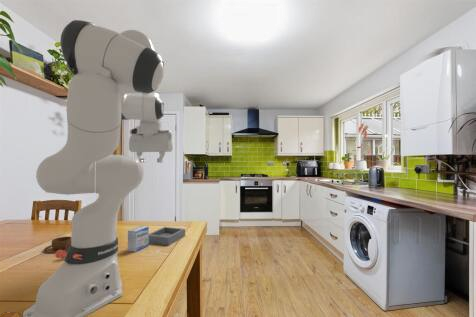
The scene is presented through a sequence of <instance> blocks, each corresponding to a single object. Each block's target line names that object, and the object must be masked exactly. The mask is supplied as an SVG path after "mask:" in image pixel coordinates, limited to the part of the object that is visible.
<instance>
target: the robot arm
mask: <svg viewBox="0 0 476 317" xmlns="http://www.w3.org/2000/svg"><path fill="white" fill-rule="evenodd" d="M60 48H61V49H60V50H61V53H62V55H63V58H64V60H65V62H66V65H67V68H68V70H69V71H70V72H71V73H72V74H73V76H72V77H71V79H70V81H69V84H68V90H67V95H66V96H67V97H66V120H67V121H66V122H67V135H66V136H67V140H66V142H65V145H64V146H63V147H62V148H61V149H59V151H57V152H56V153H54V154H52V155H49V156H47V157H46V158H44V159H43V160H42V161H41V162H40V163H39V165H38V166H37V169H36V181H37V184H38V185H39V187H40V188H41V189H42V190H43V191H45V193H48V194H58V195H67V196H68V195H82V194H83V195H85V194H98V197H97V199H96V200H95V201H94V202H92V203H90V204H87V205H86V206H83V207H82V208H80V209H79V210H77V211H76V212H75V213H74V214H73V215H72V217H71V221H70V222H71V232H70V234H71V236H70V237H71V244H70V246H69V248H68V251H65V250H66V249H63V250H64V251H63V250H56V251H57V253H54V257H55V258H58V259H61V260H62V259H63V262H62V264H60V265H59V267H58V268H57V269H55V271H54V272H52V273H51V275H50V276H49V277H48V278H47V279H46V280H45V281H44V282H43V283H42V284H41V285H40V286H39V288H38V291H37V294H36V297H35V303H34V304H33V305H31V306H30V307H28V308H26V309H25V310H24V311H23V313H22V317H86V316H87V315H89V314H91V313H94V312H95V311H97V310H99V309H100V308H103V307H105V306H106V305H108V304H110V303H112V302H113V301H115V300H116V299H118V298H121V297H122V296H123V289H122V288H123V281H122V279H121V278H122V277H121V274H120V269H119V261H118V260H119V259H118V253H117V252H118V251H119V238H118V236H117V227H118V218H119V217H118V216H119V211H120V208H121V205H123V202H124V201H125V199H126V198H127V196H128V195H130V193H131V192H132V191H134V190H135V189H137V187H139V186H140V184H141V183H142V181H143V178H144V167H143V165H142V163H145V158H144V157H143V153H158V155H159V156H158V157H157V158H156V162H157V163H159V164H161V163H163V159H164V157H165V155H166V153H168V152H169V153H170V152H172V151H173V141H172V140H173V139H172V132H171V131H169V130H168V129H164V130H163V129H162V121H161V118H163V117H164V108H165V107H164V106H165V104H164V102H163V101H162V99H161V96H160V94H159V93H157V92H155V91H156V90H157V89H158V87H159V85H161V83H162V80H163V79H164V74H165V71H164V70H165V64H164V61H163V59H162V56H161V55H160V54H159V53H157V52H156V51H155V47H154V46H153V44H152V42H151V39H150V38H149V37H148V36H147V35H146V34H144V33H143V32H141V31H140V30H136V29H128V30H124V31H122V32H120V33H119V32H117V31H114V30H113V29H112V30H111V29H109V28H106V27H102V26H99V25H96V24H95V23H94V22H91V21H90V22H89V21H85V20H82V19H81V20H79V19H78V20H77V19H74V20H72V21H70V22H69V23H67V24H66V25H65V27H64V28H63V30H62V32H61V35H60ZM139 93H141V94H139ZM127 120H128V121H129V120H137V121H139V125H138V126H136V127H133V128H132V129H130V130H129V134H130V137H129V139H128V149H129V151H130V152H131V153H136V157H135V156H134V157H133V156H129V155H128V156H127V155H123V154H113V153H114V152H116V150H117V148H118V146H119V145H120V141H121V140H120V138H121V129H122V128H121V127H122V121H127Z"/></svg>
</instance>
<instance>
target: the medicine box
mask: <svg viewBox="0 0 476 317" xmlns="http://www.w3.org/2000/svg"><path fill="white" fill-rule="evenodd" d="M149 232H150V229H149V226H146V225H140V226H138V227H135V228H133V229H130V230H129V229H128V230H127V251H128V252H134V253H138V252H139V251H142V250H143V249H145V248H147V247H149V246H150V243H149V234H150V233H149Z"/></svg>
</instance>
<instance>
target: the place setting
mask: <svg viewBox="0 0 476 317" xmlns="http://www.w3.org/2000/svg"><path fill="white" fill-rule="evenodd" d="M70 244H71V236H61V237H57V238H54V239H52V240H51V245H48V246H46V247H45V248H44V249H43V252H44V254H55V253H57V251H58V250H63V251H64V250H65V251H68V248H69V246H70ZM51 248H52V249H53V250H54V251H51V250H50V251H49V249H51ZM55 250H56V251H55Z"/></svg>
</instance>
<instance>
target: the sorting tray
mask: <svg viewBox="0 0 476 317" xmlns="http://www.w3.org/2000/svg"><path fill="white" fill-rule="evenodd" d="M185 237H186V229H185V228H181V227H179V228H178V227H170V226H164V227H161V228H159V229H157V230H154V231H153V232H150V233H149V244H155V245H163V246H168V247H169V246H171V245H172V244H174V243H176V242H177V241H179V240H180V239H182V238H185Z"/></svg>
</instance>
